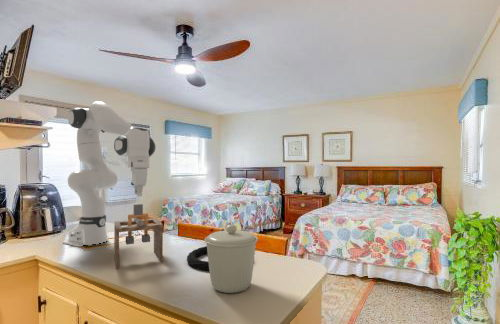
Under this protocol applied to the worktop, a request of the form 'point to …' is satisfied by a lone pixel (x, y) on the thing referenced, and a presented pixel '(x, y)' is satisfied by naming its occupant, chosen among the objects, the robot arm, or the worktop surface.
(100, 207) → the robot arm
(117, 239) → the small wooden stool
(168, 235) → the worktop surface
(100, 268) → the worktop surface
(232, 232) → the canister
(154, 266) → the worktop surface
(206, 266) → the cable lock
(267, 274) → the worktop surface
